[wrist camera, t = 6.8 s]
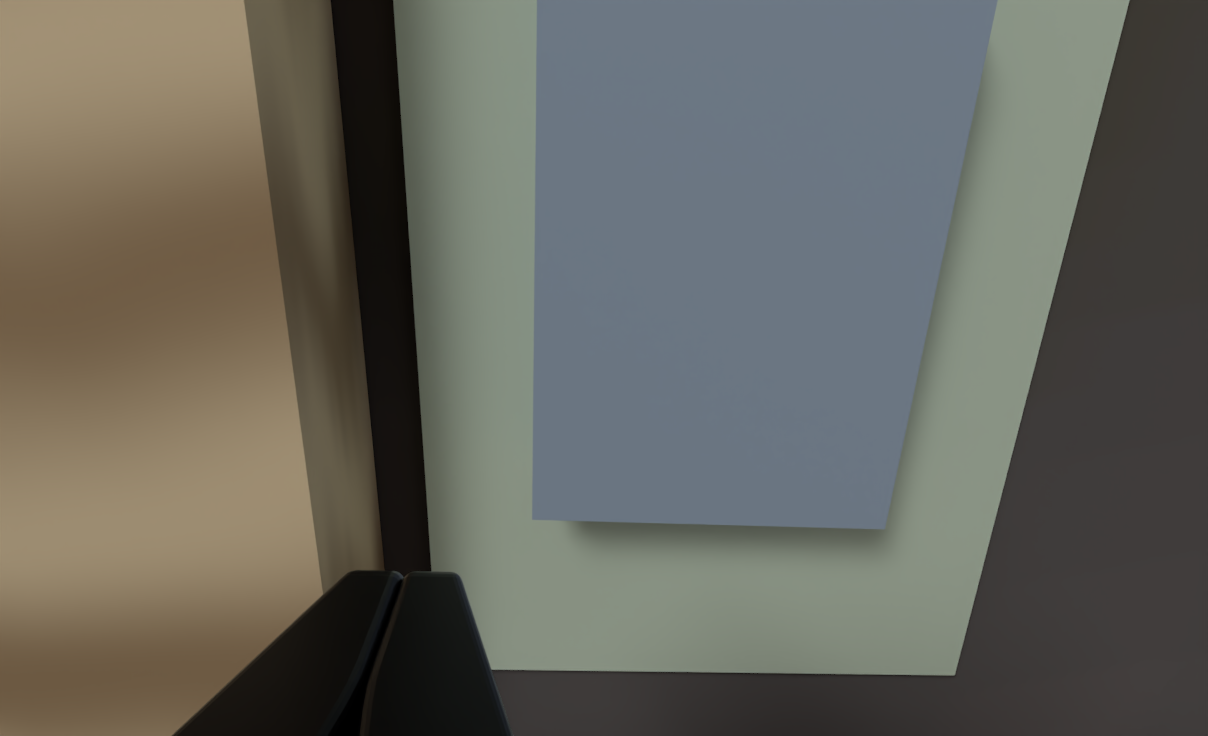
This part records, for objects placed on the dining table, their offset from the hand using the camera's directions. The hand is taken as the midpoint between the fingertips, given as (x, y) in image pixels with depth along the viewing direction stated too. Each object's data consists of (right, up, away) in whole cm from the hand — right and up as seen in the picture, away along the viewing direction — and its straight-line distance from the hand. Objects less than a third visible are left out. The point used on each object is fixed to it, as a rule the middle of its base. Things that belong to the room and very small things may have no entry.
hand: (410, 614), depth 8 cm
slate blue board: (+3, +3, +7) cm, 8 cm away
